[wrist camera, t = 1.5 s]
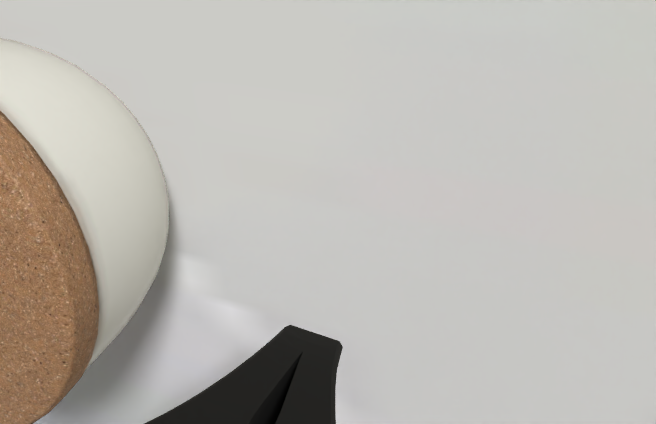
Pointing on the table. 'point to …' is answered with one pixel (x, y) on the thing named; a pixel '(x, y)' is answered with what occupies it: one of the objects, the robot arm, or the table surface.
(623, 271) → the table surface
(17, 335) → the lidded jar
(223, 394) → the robot arm
